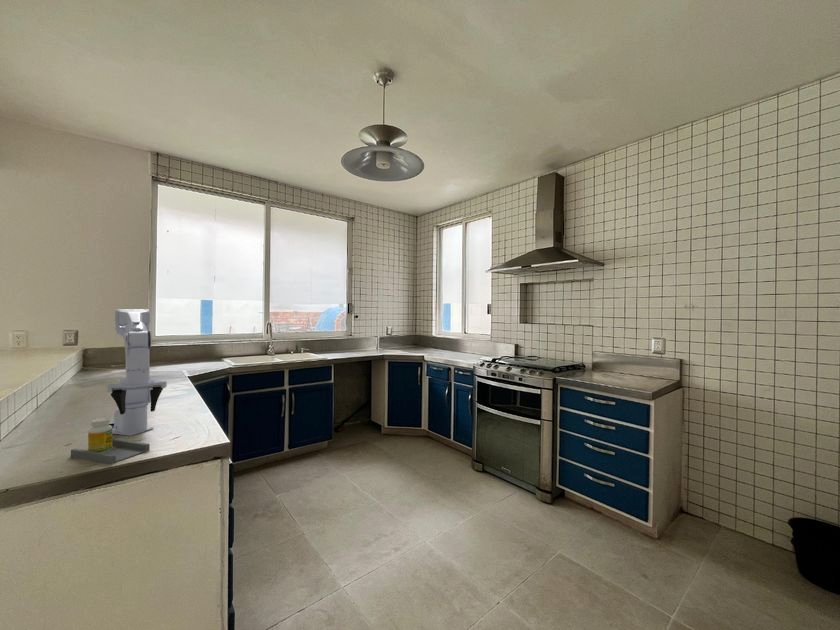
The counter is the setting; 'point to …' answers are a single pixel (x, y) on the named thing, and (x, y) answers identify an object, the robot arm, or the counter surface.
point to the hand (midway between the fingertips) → (138, 412)
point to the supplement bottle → (100, 436)
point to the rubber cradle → (113, 452)
